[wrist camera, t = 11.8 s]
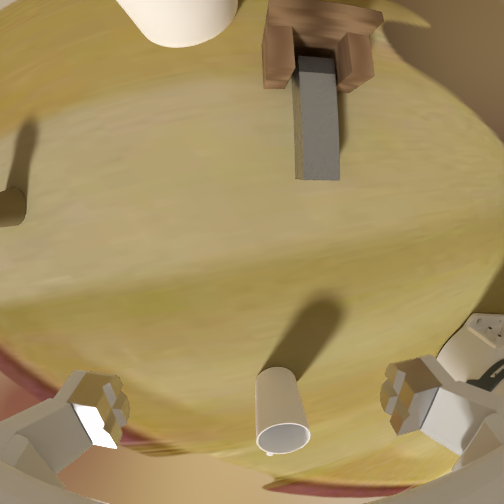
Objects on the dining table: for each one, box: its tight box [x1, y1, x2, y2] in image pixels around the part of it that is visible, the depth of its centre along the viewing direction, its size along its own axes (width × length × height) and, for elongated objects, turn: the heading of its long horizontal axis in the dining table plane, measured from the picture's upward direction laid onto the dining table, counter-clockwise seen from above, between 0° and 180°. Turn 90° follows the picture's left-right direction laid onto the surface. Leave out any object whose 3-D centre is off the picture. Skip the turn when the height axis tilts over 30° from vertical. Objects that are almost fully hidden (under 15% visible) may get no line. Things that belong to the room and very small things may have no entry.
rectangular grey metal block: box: [291, 56, 340, 180], centre depth 30 cm, size 4×14×5 cm, turn 2°
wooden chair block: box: [262, 0, 384, 93], centre depth 25 cm, size 11×6×12 cm, turn 92°
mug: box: [255, 367, 311, 456], centre depth 37 cm, size 10×7×12 cm, turn 163°
